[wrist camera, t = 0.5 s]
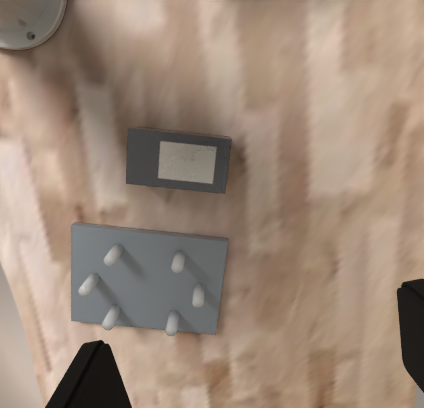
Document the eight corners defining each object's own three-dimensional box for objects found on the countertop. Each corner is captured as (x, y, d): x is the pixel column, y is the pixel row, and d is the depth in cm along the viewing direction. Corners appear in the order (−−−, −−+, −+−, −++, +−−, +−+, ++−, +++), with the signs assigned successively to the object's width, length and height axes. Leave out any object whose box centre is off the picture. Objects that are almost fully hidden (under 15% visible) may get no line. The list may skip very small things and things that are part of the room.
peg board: (74, 315, 44) (59, 338, 40) (75, 222, 41) (58, 235, 36) (215, 329, 45) (216, 352, 40) (227, 238, 41) (230, 253, 37)
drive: (136, 175, 39) (125, 183, 34) (138, 126, 38) (127, 127, 33) (223, 184, 40) (225, 193, 35) (228, 136, 38) (231, 139, 33)
